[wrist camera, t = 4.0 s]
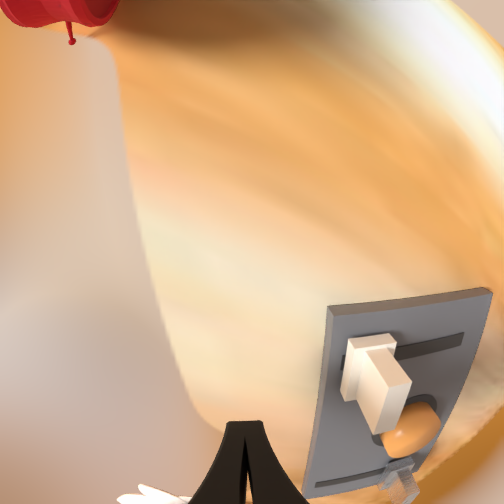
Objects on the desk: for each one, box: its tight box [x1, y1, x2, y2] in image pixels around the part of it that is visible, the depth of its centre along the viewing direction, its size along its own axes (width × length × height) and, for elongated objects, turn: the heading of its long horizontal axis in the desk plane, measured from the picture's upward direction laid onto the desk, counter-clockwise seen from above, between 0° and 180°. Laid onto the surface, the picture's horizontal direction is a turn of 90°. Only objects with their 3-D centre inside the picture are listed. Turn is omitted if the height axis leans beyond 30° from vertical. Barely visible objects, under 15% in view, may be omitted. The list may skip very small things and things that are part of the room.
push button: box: [379, 402, 441, 458], centre depth 16 cm, size 4×4×2 cm
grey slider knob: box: [377, 456, 420, 504], centre depth 16 cm, size 2×4×4 cm, turn 2°
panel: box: [302, 287, 493, 499], centre depth 17 cm, size 12×20×1 cm, turn 2°
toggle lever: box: [340, 333, 412, 435], centre depth 13 cm, size 2×4×4 cm, turn 2°
